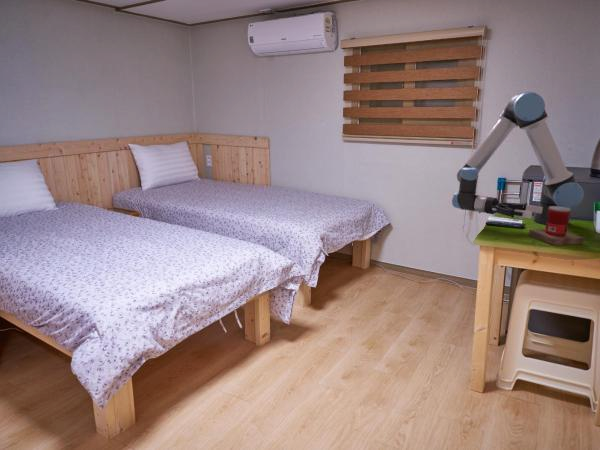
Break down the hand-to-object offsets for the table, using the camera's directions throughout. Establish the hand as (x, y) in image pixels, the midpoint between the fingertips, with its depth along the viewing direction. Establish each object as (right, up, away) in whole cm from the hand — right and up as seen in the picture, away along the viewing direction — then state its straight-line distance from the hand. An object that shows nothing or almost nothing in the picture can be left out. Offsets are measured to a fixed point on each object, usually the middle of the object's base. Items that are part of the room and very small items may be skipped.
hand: (537, 212), depth 194 cm
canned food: (+6, -9, -3) cm, 11 cm away
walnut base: (+6, -11, -3) cm, 13 cm away
